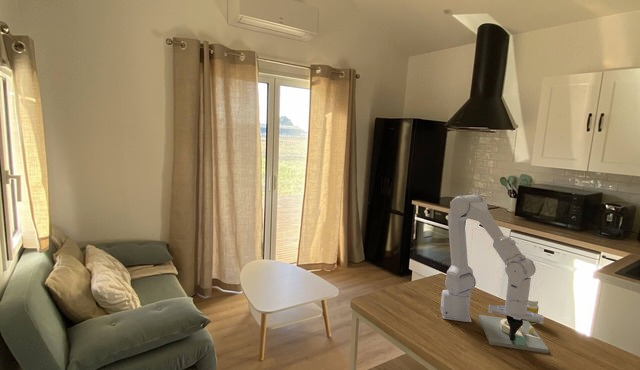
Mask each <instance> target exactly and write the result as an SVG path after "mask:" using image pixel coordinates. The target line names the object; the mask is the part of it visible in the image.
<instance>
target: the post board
mask: <svg viewBox="0 0 640 370" xmlns="http://www.w3.org/2000/svg"><path fill="white" fill-rule="evenodd" d="M477 319H478V320H479V323H480V326H481V327H482V330H483V332H484V334H485V336H486V339H487V341H488V343H489V345H490V346H498V347H502V348H503V347H504V348H510V349H516V350H523V351H530V352H535V353H544V354H549V350H550V349H549V348H548V346H547V345H546V343H545V342H544V341H543V339H542V338H541V336H540V335H539V334H538V332H537V331H536V330H535V327H534V326H533V324H530V323H529V321H523V325H522V327H523V330H522V335H523V336H524V338H525V339H526V340H525V346H522V345H516V344H515V343H514V341H512V340H510V338H509V334H508V333H506V332H504V331H502V330H501V328H500V327H499V326H500V320H502V319H507V318H506V317H500V316H499V317H498V316H493V315H484V314H478V317H477ZM506 325H507V326H509V324H508V321H507V322H506Z"/></svg>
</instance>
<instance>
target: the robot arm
mask: <svg viewBox="0 0 640 370" xmlns="http://www.w3.org/2000/svg"><path fill="white" fill-rule="evenodd" d="M467 219H473V220H476V221H478V222H479V224H480V226H482V227H483V228H484V230H485V231H486V232H487V233H486V234H488V235H489V236H490V238H491V239H492V240H493V243H492V247H493V249H494V250H495V251H496V253H497V254H498V255H499V257H500V259H501V260H502V262H503V263H504V265H505V268H504V269H505V273H506V275H507V288H506V295H505V303H504V304H505V305H495V304H488V310H487V312H488V314H497V315H501V316H505V318H507V321H508V324H509V327H510V332H509V338H510V340H512V341H514V339H515V334H516V332H517V331H518V329H519V328H520V327H521V326H522V325H523V319H525V320H530V321H535V322H537V323H538V324H540V325H544V320H545V317H544V316H543V314H539V313H538V314H536V313H533V312H530V311H527V305H528V297H529V296H530V288H531V279H532V276H534V275H535V273H536V270H537V269H536V265H535V264H534V261H533V260H532V259H530V258H528V257H526V256H525V254H523V253H522V252H521V250H520V249H519V247H518V246H517V245H516V244H517V242H516V240H515V239H512V238H511V237H510V236H508V235H504V233H503V231H502V230H501V228H500V226H499V225H498V223H497V222H496V220H495V218H494V217H493V215H492V214H491V212H490V210H489V207H488V204H487V202H486V201H485V200H484V198H483V197H482V196H481V195H480V194H477V193H473V194H468V195H457V196H455V197H454V198H453V199H452V200H450V202H449V211H448V213H447V225H448V239H449V240H448V241H449V251H450V252H449V253H450V266H449V268H448V269H447V271H446V278H445V279H444V280H445V281H444V285H445V288H446V289H442V290H441V299H440V312H441V316H442V319H444V320H451V321H457V322H458V321H459V322H464V323H465V322H466V323H472V319H471V316H470V305H471V294H472V290H473V289H474V288H475V287H476V285H477V281H476V277H475V275H474V270H473V268H471V267H470V266H469V261H468V251H467V250H468V249H467V248H468V247H467V235H466V234H467V233H466V224H465V223H466V221H467Z"/></svg>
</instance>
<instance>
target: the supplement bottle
mask: <svg viewBox="0 0 640 370" xmlns="http://www.w3.org/2000/svg"><path fill="white" fill-rule="evenodd" d="M538 304H539V299H538V298H536V297H534V296H530V295H529V297H528V305H527V311H530V312H533V313H536V314H539V305H538ZM523 321H529V323H530V324H531V325H536V324H537V323H538V322H535V321H530V320H525V319H523Z"/></svg>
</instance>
